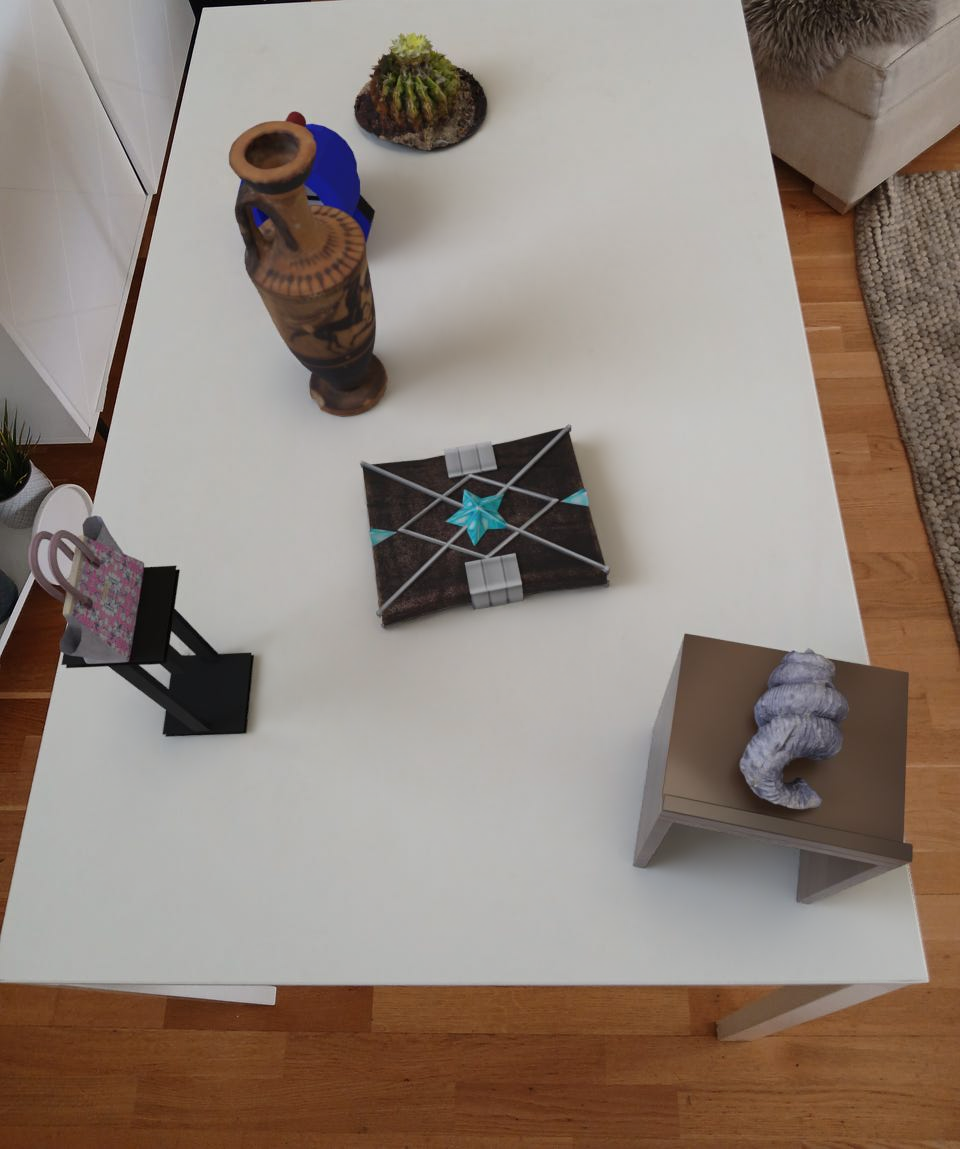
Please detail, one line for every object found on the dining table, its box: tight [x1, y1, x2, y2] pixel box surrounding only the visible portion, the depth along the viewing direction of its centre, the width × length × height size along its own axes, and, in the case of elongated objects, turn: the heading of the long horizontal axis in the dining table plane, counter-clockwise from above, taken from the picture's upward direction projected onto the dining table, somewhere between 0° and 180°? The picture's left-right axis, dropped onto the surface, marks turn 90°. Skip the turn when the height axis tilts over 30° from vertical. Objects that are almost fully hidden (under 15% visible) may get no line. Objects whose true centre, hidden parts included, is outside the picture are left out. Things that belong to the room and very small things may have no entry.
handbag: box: [27, 515, 255, 738], centre depth 70 cm, size 10×8×30 cm
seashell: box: [739, 647, 849, 809], centre depth 54 cm, size 5×5×10 cm
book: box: [359, 423, 611, 630], centre depth 87 cm, size 22×17×5 cm
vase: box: [228, 120, 388, 417], centre depth 84 cm, size 11×11×30 cm
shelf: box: [632, 633, 914, 905], centre depth 65 cm, size 14×12×24 cm
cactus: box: [353, 32, 488, 151], centre depth 111 cm, size 17×16×10 cm
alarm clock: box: [237, 111, 376, 243], centre depth 101 cm, size 12×12×15 cm
